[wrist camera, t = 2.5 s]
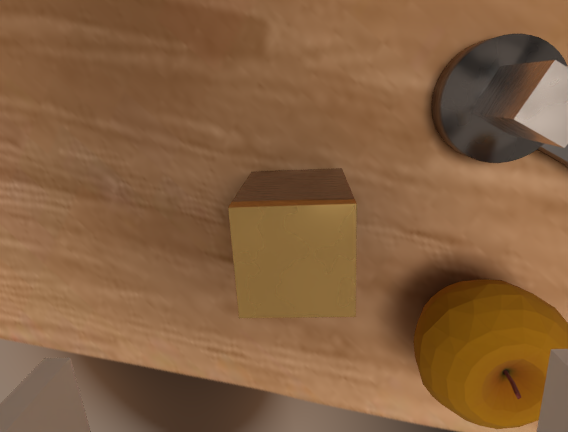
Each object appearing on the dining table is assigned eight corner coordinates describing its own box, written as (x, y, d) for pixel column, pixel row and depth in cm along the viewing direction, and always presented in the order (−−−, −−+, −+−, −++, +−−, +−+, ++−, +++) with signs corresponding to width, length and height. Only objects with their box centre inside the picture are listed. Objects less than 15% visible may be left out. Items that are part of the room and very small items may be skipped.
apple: (542, 260, 27) (650, 339, 18) (502, 365, 30) (580, 476, 21) (412, 241, 27) (460, 312, 19) (385, 348, 30) (416, 452, 21)
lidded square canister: (257, 253, 28) (238, 317, 20) (251, 171, 26) (228, 207, 18) (341, 251, 28) (355, 316, 20) (341, 168, 26) (356, 203, 18)
